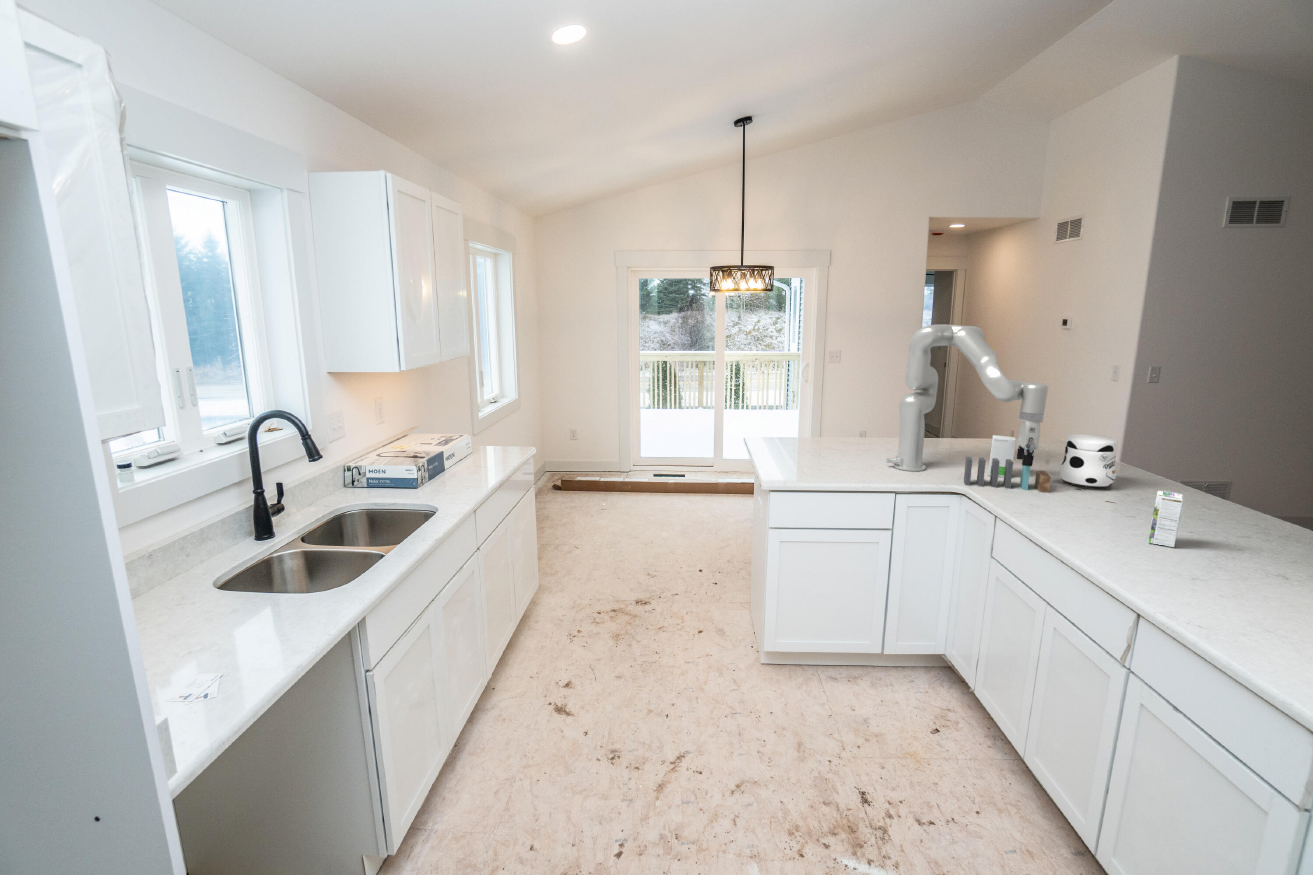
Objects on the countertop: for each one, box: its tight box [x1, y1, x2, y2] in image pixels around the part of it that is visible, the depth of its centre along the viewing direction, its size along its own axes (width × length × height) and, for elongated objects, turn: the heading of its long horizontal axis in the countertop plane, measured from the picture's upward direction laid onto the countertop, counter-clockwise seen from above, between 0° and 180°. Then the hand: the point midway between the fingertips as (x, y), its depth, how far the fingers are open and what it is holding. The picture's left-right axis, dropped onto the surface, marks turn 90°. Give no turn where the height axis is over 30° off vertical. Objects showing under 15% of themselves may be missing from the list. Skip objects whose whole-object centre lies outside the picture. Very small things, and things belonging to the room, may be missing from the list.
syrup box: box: [1148, 490, 1184, 548], centre depth 171 cm, size 6×6×14 cm
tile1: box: [963, 456, 973, 486], centre depth 232 cm, size 2×5×10 cm, turn 160°
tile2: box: [976, 456, 987, 487], centre depth 231 cm, size 2×5×10 cm, turn 160°
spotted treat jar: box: [1059, 433, 1118, 489], centre depth 228 cm, size 17×17×18 cm
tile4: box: [1002, 459, 1014, 489], centre depth 228 cm, size 2×5×10 cm, turn 160°
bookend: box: [1034, 470, 1052, 494], centre depth 224 cm, size 3×8×6 cm, turn 160°
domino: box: [1019, 464, 1031, 491], centre depth 226 cm, size 2×5×10 cm, turn 160°
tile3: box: [989, 458, 1000, 489], centre depth 229 cm, size 2×5×10 cm, turn 160°
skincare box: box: [987, 434, 1017, 478], centre depth 243 cm, size 8×7×16 cm
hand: (1024, 462), depth 226 cm, fingers open, 9 cm apart
